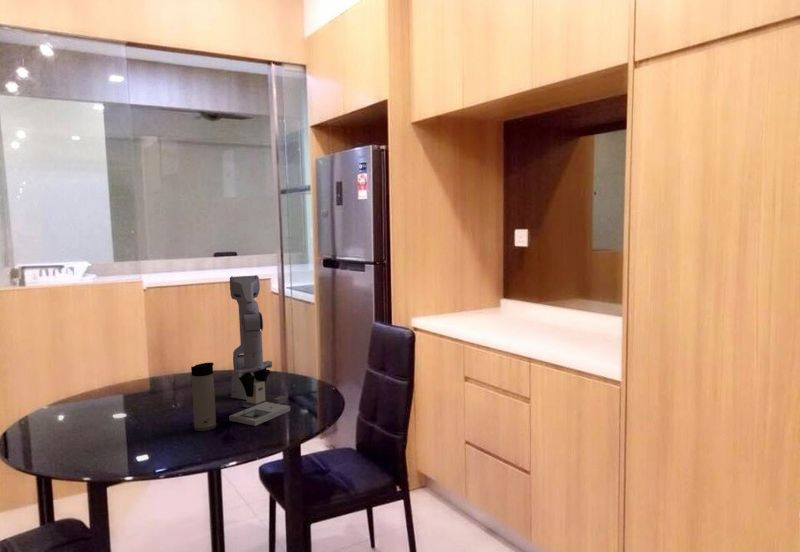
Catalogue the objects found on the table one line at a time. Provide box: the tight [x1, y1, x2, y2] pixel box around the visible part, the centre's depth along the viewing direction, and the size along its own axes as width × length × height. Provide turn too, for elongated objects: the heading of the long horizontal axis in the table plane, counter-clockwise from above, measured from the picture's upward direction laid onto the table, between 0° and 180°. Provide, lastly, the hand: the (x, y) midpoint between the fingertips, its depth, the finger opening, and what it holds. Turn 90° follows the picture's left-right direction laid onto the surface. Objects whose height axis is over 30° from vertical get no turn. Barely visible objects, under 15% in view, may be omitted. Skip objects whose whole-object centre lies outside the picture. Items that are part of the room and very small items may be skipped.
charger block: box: [246, 380, 266, 404], centre depth 175 cm, size 4×4×6 cm
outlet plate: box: [228, 402, 291, 427], centre depth 179 cm, size 11×16×2 cm
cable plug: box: [272, 395, 287, 405], centre depth 190 cm, size 10×2×2 cm, turn 150°
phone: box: [242, 394, 279, 409], centre depth 192 cm, size 6×12×1 cm, turn 150°
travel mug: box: [190, 362, 217, 432], centre depth 168 cm, size 6×7×20 cm
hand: (255, 394), depth 176 cm, fingers closed on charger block, 4 cm apart
